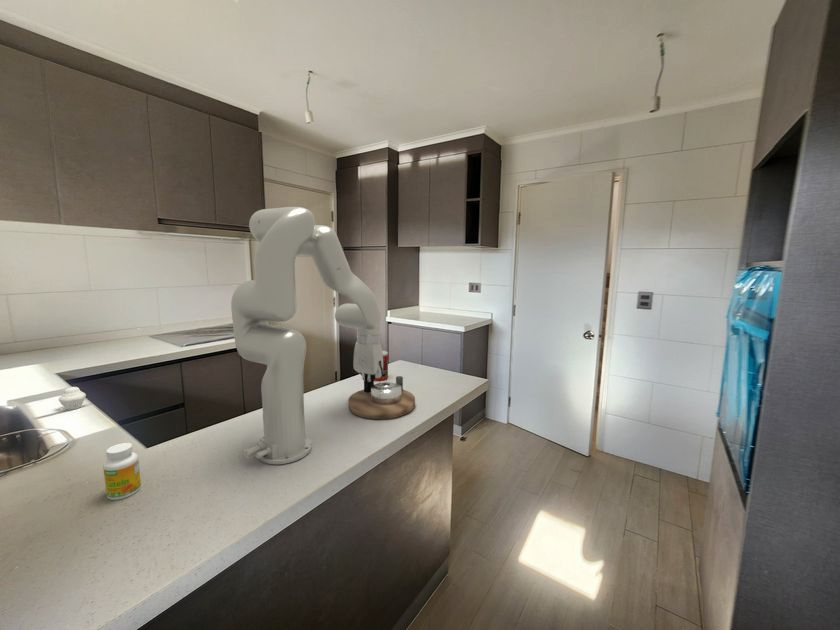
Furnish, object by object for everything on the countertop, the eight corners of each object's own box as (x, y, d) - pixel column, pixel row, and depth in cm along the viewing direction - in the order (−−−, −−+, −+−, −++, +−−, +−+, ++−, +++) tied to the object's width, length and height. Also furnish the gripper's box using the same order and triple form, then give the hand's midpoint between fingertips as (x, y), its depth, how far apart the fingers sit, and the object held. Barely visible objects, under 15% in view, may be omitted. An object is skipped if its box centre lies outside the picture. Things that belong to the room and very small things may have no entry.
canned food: (384, 382, 140) (384, 355, 139) (365, 380, 142) (365, 354, 140) (390, 376, 148) (390, 350, 146) (372, 374, 149) (372, 349, 148)
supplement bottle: (102, 503, 68) (96, 457, 67) (113, 487, 73) (107, 443, 72) (136, 496, 70) (131, 451, 69) (144, 481, 75) (140, 439, 74)
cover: (388, 407, 110) (388, 392, 109) (364, 400, 115) (364, 385, 114) (407, 397, 118) (407, 383, 117) (384, 391, 123) (384, 377, 123)
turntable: (384, 425, 102) (384, 402, 101) (334, 406, 115) (333, 385, 114) (427, 402, 119) (428, 382, 118) (380, 387, 132) (380, 370, 131)
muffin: (80, 410, 110) (77, 389, 109) (55, 413, 108) (52, 391, 107) (91, 403, 116) (88, 382, 115) (67, 405, 114) (64, 384, 113)
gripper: (344, 337, 119) (345, 389, 121) (377, 344, 110) (377, 400, 113) (360, 334, 125) (361, 383, 127) (393, 340, 116) (392, 393, 119)
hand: (369, 391), depth 120 cm, fingers closed
